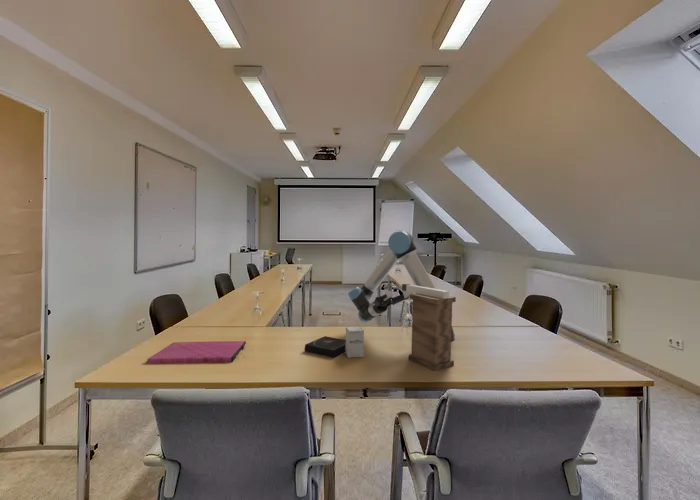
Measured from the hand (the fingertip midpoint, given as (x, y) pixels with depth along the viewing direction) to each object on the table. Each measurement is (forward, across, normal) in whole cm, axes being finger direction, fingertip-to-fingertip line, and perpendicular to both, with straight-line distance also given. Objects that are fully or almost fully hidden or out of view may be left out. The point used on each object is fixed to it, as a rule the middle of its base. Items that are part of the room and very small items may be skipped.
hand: (401, 291), depth 171 cm
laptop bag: (-55, +82, -2) cm, 98 cm away
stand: (+2, -1, -35) cm, 35 cm away
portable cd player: (-32, +30, -16) cm, 46 cm away
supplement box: (-20, +23, -22) cm, 38 cm away
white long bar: (+12, -1, -6) cm, 14 cm away
